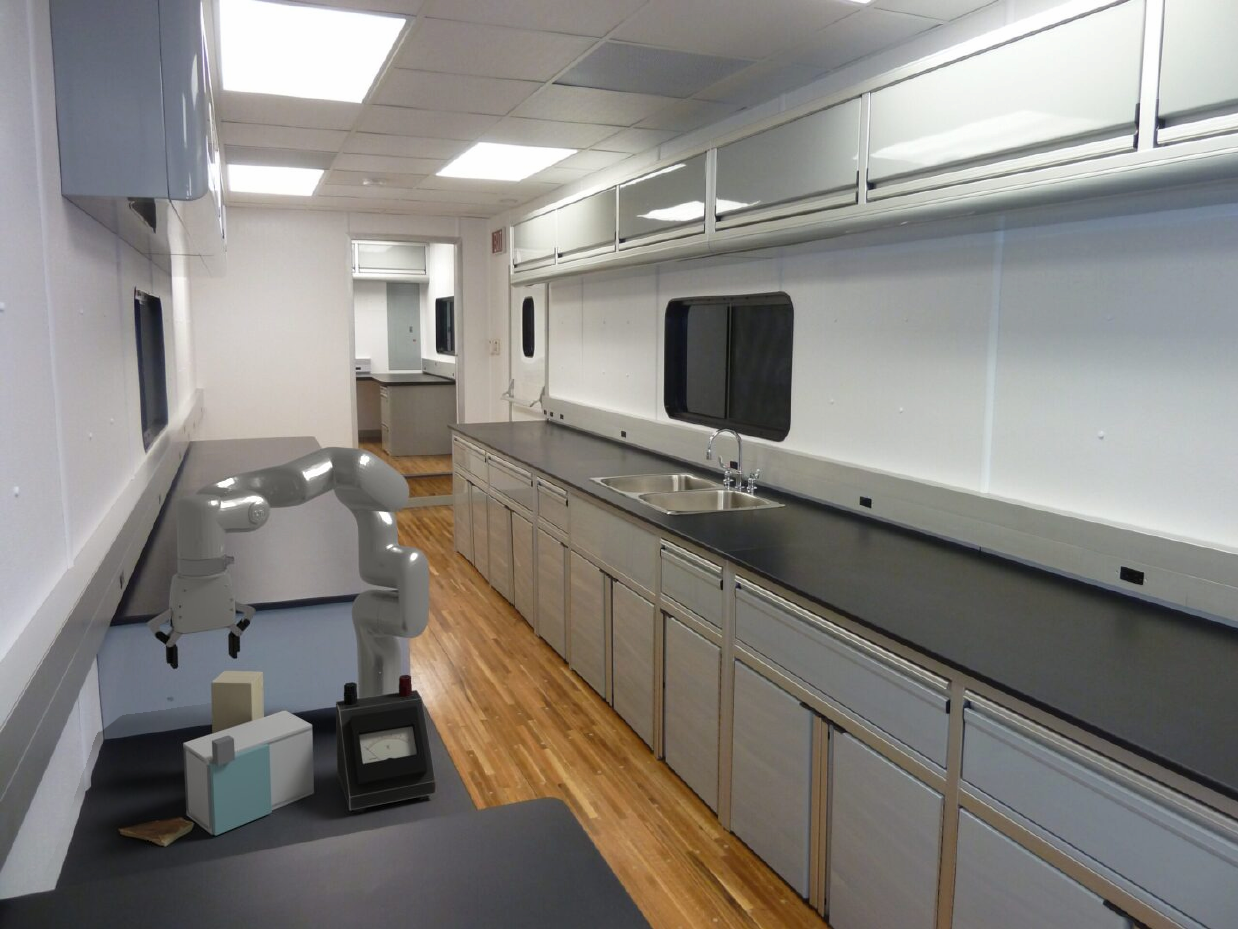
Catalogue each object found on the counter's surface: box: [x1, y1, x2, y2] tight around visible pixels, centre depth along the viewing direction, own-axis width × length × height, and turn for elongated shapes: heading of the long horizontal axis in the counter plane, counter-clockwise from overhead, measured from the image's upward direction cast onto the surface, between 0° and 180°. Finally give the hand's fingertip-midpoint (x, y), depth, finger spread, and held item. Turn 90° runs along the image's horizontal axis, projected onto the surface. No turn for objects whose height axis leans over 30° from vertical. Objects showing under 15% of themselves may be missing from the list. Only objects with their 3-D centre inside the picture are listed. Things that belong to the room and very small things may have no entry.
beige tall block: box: [210, 670, 265, 734], centre depth 178 cm, size 8×7×21 cm
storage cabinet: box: [182, 710, 315, 835], centre depth 167 cm, size 20×10×14 cm, turn 140°
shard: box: [117, 816, 195, 847], centre depth 159 cm, size 11×8×2 cm
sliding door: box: [210, 735, 273, 836], centre depth 160 cm, size 10×2×17 cm, turn 140°
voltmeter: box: [335, 674, 437, 813], centre depth 174 cm, size 16×16×20 cm
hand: (204, 661), depth 156 cm, fingers open, 9 cm apart
